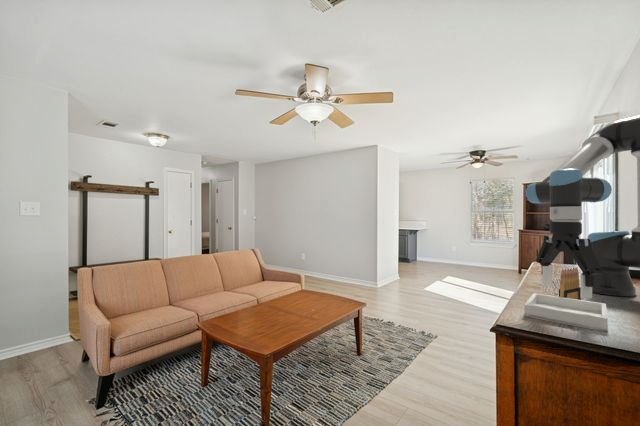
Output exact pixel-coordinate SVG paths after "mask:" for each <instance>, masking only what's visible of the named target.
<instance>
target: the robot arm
mask: <svg viewBox="0 0 640 426" xmlns="http://www.w3.org/2000/svg"><path fill="white" fill-rule="evenodd" d="M626 151H627V152H628V151H630V155H632V157H635V158H636V166H637V167H636V168H637V171H636V173H637V175H636V176H637V177H636V178H637V179H636V181H637V185H636V186H637V192H636V193H637V194H636V195H637V198H636V199H637V226H636V227H634V228H633V229H632V230H631V234H630V232H629V231H627V230H616V231H614V230H613V231H601V232H600V231H598V232H597V231H596V232H591V233H589V234H588V235H587V238H580V235H582V233H583V231H582V230H583V225H582V224H583V223H582V222H581V220H583V211H582V210H583V209H582V208H583V207H582V203H599V202H600V203H601V202H604V201H605V200H607V199H608V198H609V197H610V195H611V194H612V190H613V189H612V186H611V183H610V182H609V181H608V180H606V179H603V178H599V177H584V175H586V174H587V173H588V172H590V170H591V169H592V168H593V167H595V166H596V165H597V164H598V163H599V162H600V161H601V160H605V159H608V158H609V157H610V156H612V155H613V154H616V153H621V152H626ZM525 197H526V199H527V200H528V201H529V203H532V204H542V205H544V204H549V220H552V221H550V222H549V234H552V235H544V236H543V242H542V245H541V246H540V249H539V252H538V254H537V256H536V259H535V262H536V263H539V265H540V266H541V276H542V280H541V282H542V285H541V286H542V287H547V288H548V287H550V288H551V287H553V265H552V263H553V261H555V259H556V258H557V256H558V255H559V254H560V253H562V252H563V253H567V254H568V255H570V256H571V257H572V259H573V260H574V261H575V263H576V264H577V266H578V267H579V270H580V271H581V272H582V273H580V274H579V275H580V276H579V281H580V298H581V299H593V293H596V294H600V295H607V296H617V297H635V296H636V295H637V289H636V287H635V286H634V283H633V280H632V278H631V275H630V268H636V269H640V115H636V116H632V117H628V118H623V119H619V120H616V121H613V122H612V123H609V124H607V125H605V126H603V127H602V128H601V129H598V130H597V131H596V132H594V133H593V134H591V135H590V136H589V137H588V138H587V139H586V140H584V142H583V143H582V145H581V147H580V148H579V149H578V150H577V151H576V152H574V154H572V155H571V156H570V157H569V158H567V159H566V161H564V162H563V163H562V164H561V165H559V166H558V167H557V168H555V170H553V171H551V172H550V174H549V175H548V176H547V177H546V178H544V179H543V180H542V181H539V182H538V181H537V182H534V183H531V184H529V185H528V186H527V187H526V189H525Z"/></svg>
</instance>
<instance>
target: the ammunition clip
mask: <svg viewBox="0 0 640 426" xmlns="http://www.w3.org/2000/svg"><path fill="white" fill-rule="evenodd" d="M579 273H580V272H579V269H578V267H573V268H571V267H570V268H567V269H566V268H565V269H561V272H560V281H559V289H558V297H563V298H570V299H577V300H582V298H580V276H579V275H580V274H579Z"/></svg>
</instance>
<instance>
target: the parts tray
mask: <svg viewBox="0 0 640 426" xmlns="http://www.w3.org/2000/svg"><path fill="white" fill-rule="evenodd" d="M607 311H608V308H607V304H606V303H604V302H597V301H592V300H591V301H589V300H582V299H581V300H577V299H570V298H563V297H559V296H555V295H549V294H541V293H535V292H533V293H532V294H531V296H530V297H529V298H528V299H527V301H526V302H525V303H524V309H523V312H524V314H523V315H524V317H527V318H532V319H537V320H542V321H546V322H552V323H557V324H563V325H568V326H573V327H577V328H584V329H588V330H593V331H599V332H602V333H603V332H605V333H608V331H609V330H608V329H609V327H608V325H609V324H608V312H607Z"/></svg>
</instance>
